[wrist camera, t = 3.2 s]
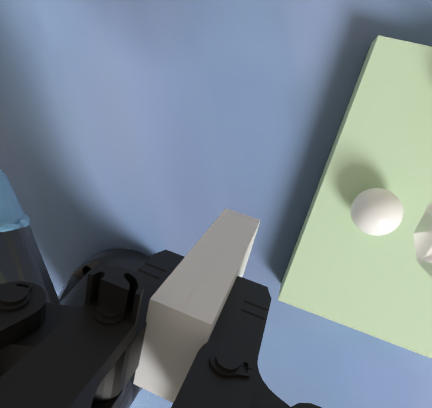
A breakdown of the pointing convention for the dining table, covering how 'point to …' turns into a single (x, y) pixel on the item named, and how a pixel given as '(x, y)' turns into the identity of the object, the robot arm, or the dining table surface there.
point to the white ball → (377, 211)
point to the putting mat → (366, 179)
